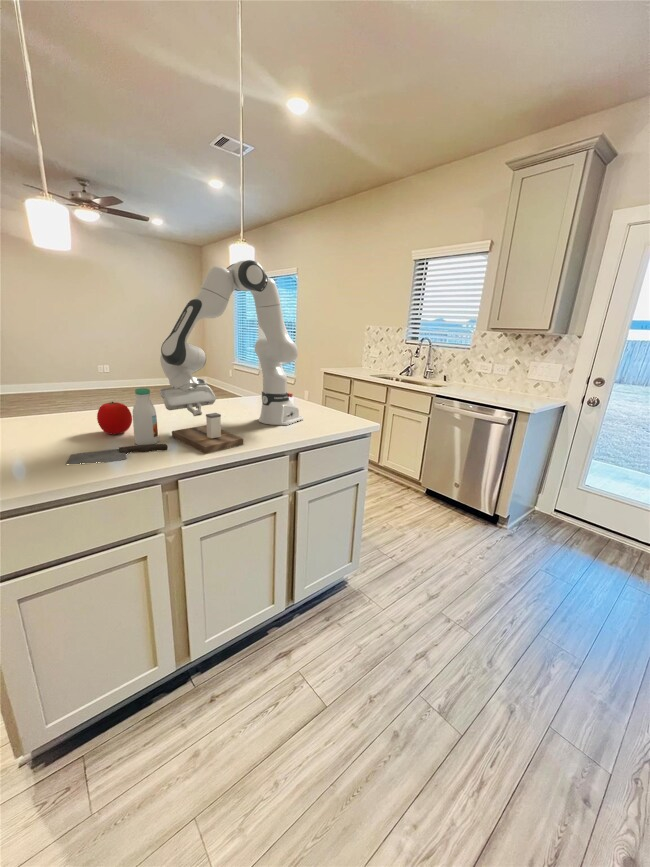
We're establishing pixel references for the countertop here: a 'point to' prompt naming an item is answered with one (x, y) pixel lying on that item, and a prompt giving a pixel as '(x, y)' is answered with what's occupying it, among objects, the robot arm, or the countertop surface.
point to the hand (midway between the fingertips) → (198, 415)
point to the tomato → (114, 418)
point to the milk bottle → (144, 419)
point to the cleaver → (112, 454)
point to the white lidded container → (213, 425)
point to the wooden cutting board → (206, 439)
